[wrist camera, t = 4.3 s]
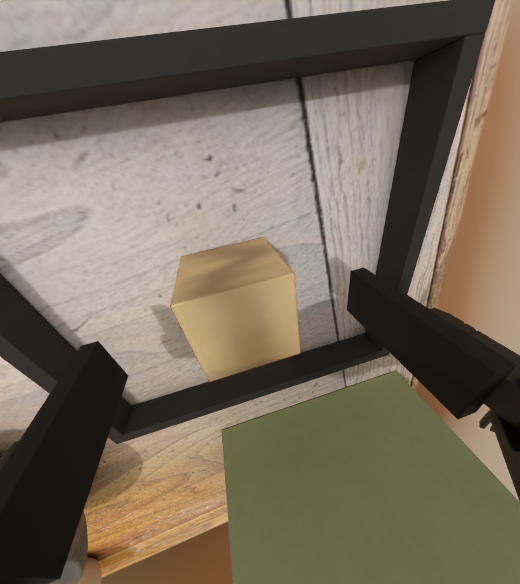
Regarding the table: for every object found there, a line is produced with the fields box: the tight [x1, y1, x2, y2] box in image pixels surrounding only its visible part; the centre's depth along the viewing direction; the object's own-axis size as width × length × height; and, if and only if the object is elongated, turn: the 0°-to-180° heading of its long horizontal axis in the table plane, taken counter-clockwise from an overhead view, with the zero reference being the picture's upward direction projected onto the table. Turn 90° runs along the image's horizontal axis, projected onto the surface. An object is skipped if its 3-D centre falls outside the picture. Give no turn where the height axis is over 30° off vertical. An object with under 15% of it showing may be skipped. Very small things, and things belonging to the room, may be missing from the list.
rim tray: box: [0, 0, 495, 444], centre depth 14 cm, size 26×22×2 cm
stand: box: [222, 371, 520, 584], centre depth 23 cm, size 24×15×18 cm, turn 99°
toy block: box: [170, 237, 300, 382], centre depth 13 cm, size 6×6×6 cm
